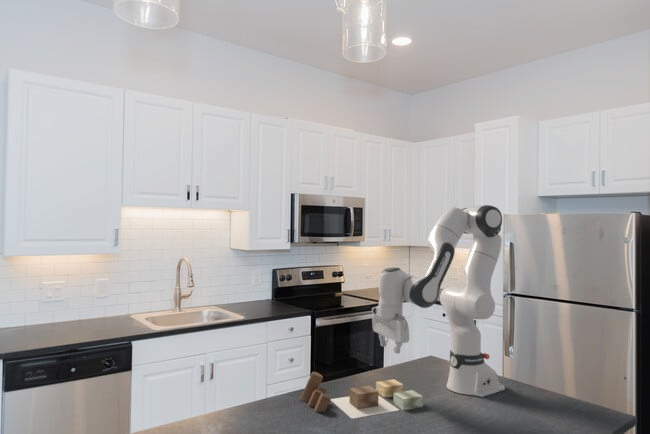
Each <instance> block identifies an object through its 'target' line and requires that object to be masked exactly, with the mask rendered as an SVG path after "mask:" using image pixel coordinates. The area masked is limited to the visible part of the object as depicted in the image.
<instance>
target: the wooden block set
mask: <svg viewBox="0 0 650 434" xmlns="http://www.w3.org/2000/svg"><path fill="white" fill-rule="evenodd" d="M323 379H324V376H323V375H322V374H320V373H319V372H316V371H312V372H311V374H310V376H309V378H308V380H307V383H306V385H305V387H304V389H303V392H302V394H301V395H300V400H301V401H302V402H307V406H308V407H309V408H314V413H325V412H326V411H327V408H328V407H329V403H330V401H331V400H330V399H331V397H330V396H331V395H329V394H326V393H327V391H328V390H327V389H326V388H323V387H321V383H322V381H323Z"/></svg>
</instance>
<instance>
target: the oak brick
mask: <svg viewBox="0 0 650 434" xmlns="http://www.w3.org/2000/svg"><path fill="white" fill-rule="evenodd" d="M375 389H376V390H377V391H379V396H380V397H382V398H383V399H384V398H390V397H393V395H394V393H398V392H404V384H403V383H402V382H400V381H398V380H396V379H395V378H394V379H387V380H382V381H381V380H379V381H376V382H375Z"/></svg>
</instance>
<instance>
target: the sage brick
mask: <svg viewBox="0 0 650 434" xmlns="http://www.w3.org/2000/svg"><path fill="white" fill-rule="evenodd" d="M392 398H393V400H392V401H393V404H392V405H394V406H395V407H396V408H398V409H399V410H400V409H401V410H402V411H406V410H413V409H418V408H423V407H424V395H422V394H420V393H418V392H417V391H415V390H414V389H411V390H403V392H398V393H394V395H393V396H392Z"/></svg>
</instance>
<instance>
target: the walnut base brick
mask: <svg viewBox="0 0 650 434" xmlns="http://www.w3.org/2000/svg"><path fill="white" fill-rule="evenodd" d="M378 395H379V396H380V394H379V391H377V390H376V388H374V387H373V386H371V385H365V386H357V387H351V388H349V396H350V404H351V405H353V406H354V407H355V408H356V409H357V410H358V409H364V408H370V407H376V406H378Z"/></svg>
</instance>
